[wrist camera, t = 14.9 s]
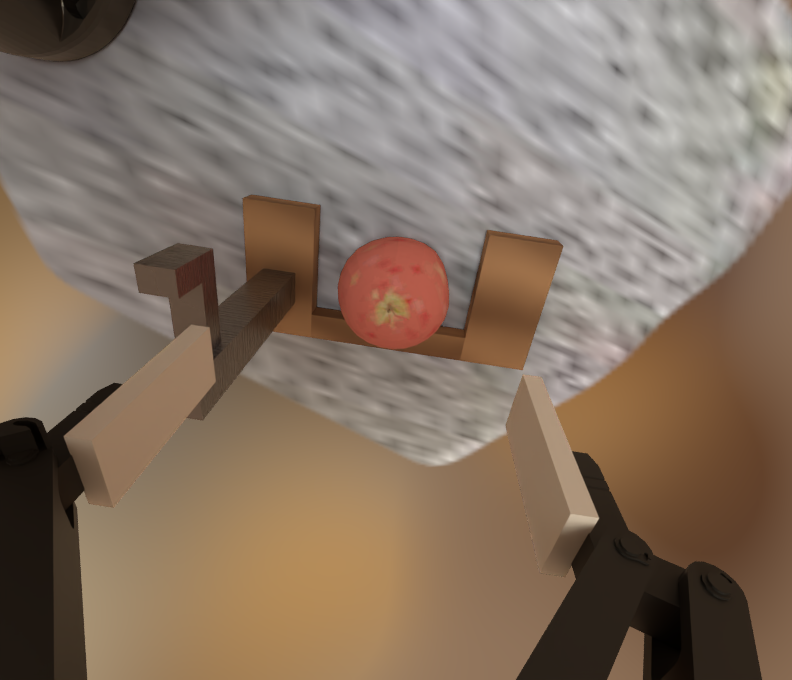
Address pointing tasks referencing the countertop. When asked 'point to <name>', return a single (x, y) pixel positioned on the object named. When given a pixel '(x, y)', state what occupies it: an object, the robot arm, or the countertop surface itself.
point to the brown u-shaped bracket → (479, 341)
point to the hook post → (217, 308)
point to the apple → (394, 292)
